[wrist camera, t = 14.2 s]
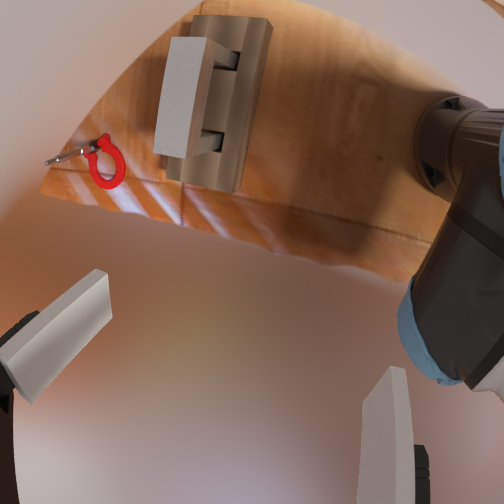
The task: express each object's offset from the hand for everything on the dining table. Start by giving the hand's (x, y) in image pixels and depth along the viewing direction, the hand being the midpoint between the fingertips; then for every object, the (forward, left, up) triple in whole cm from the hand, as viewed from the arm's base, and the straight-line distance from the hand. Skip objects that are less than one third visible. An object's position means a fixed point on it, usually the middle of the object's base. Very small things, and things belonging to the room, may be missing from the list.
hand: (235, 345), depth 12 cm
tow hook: (+34, +4, -32) cm, 47 cm away
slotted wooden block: (+14, -9, -32) cm, 36 cm away
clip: (+14, -9, -32) cm, 36 cm away
